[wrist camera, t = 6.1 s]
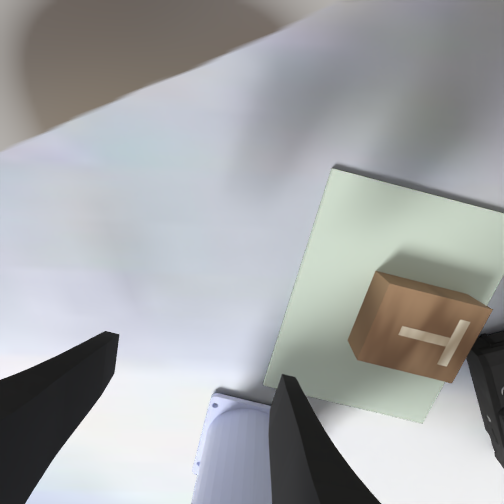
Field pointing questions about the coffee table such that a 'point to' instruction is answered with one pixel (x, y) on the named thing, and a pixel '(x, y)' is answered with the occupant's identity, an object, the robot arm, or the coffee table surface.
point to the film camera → (490, 386)
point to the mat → (360, 276)
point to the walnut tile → (416, 327)
